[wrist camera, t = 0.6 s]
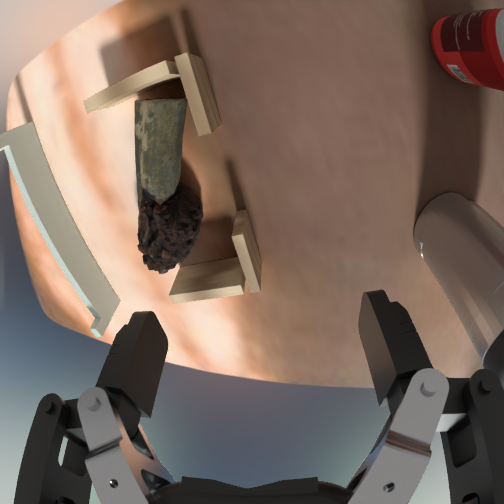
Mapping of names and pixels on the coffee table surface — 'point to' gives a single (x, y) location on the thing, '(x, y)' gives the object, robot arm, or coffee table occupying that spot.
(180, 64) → the socket block
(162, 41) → the coffee table surface
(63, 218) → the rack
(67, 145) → the coffee table surface
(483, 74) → the canned food
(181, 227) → the dark elongated piece
